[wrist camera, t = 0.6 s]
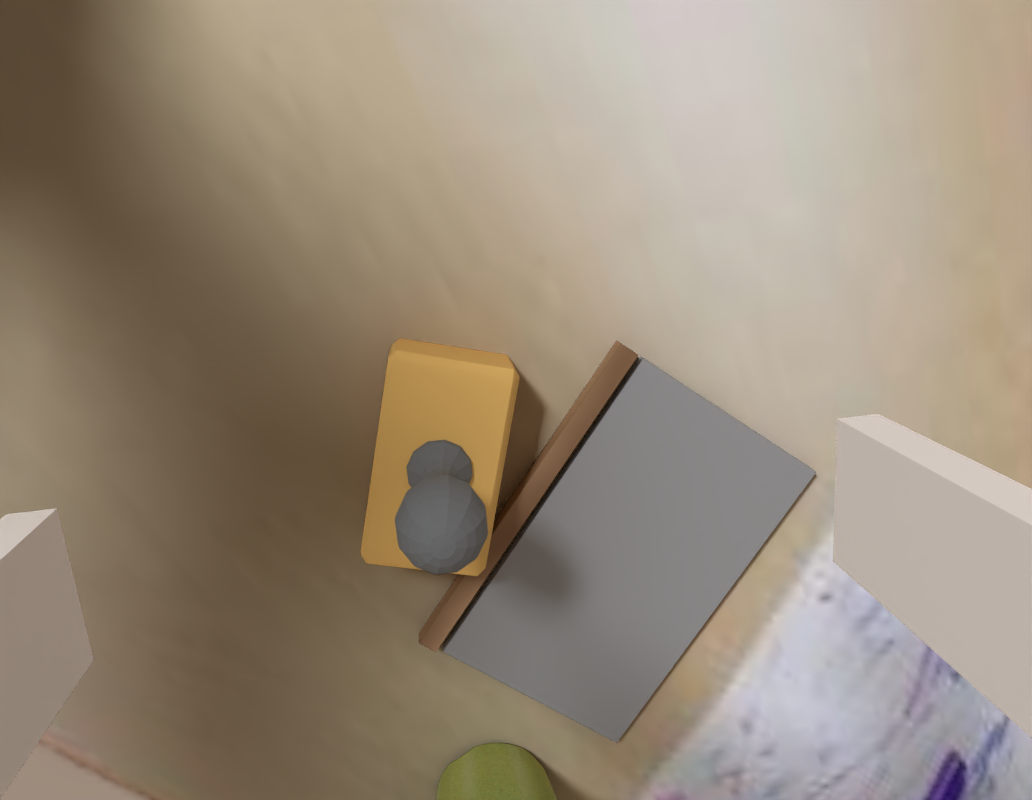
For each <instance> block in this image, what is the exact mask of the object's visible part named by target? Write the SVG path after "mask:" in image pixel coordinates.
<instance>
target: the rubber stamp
mask: <svg viewBox="0 0 1032 800" xmlns="http://www.w3.org/2000/svg"><path fill="white" fill-rule="evenodd" d="M519 379H520V376H519V374H518V372H517V370H516V369H515V367H514V365H513V363H512V362H511V360H510V359H509V357H508V356H507V355H505V354H498V353H492V352H485V351H479V350H472V349H466V348H459V347H453V346H447V345H440V344H434V343H427V342H421V341H414V340H408V339H401V338H400V339H398V340H397V341H396V342H395V343H393V344H392V345H391V349H390V353H389V357H388V363H387V370H386V377H385V384H384V391H383V398H382V405H381V412H380V419H379V426H378V433H377V440H376V447H375V454H374V461H373V468H372V475H371V482H370V489H369V496H368V503H367V510H366V517H365V524H364V531H363V538H362V545H361V552H360V554H361V556H362V557H363V559H364V561H365V562H366V563H367V564H376V565H384V566H393V567H402V568H410V569H419V570H424V571H427V572H430V573H432V574H435V575H439V574H447V573H453V574H462V575H471V576H478V575H479V574H480V573H481V572H482V571H483V570H484V569H485V568H486V563H487V557H488V552H489V546H490V541H491V535H492V530H493V524H494V519H495V513H496V507H497V502H498V496H499V491H500V485H501V480H502V474H503V469H504V463H505V457H506V452H507V446H508V441H509V435H510V430H511V424H512V419H513V413H514V407H515V402H516V396H517V391H518V385H519Z"/></svg>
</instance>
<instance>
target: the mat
mask: <svg viewBox="0 0 1032 800" xmlns="http://www.w3.org/2000/svg"><path fill="white" fill-rule="evenodd" d="M815 473H816V471H814V470H813V469H811V468H810V467H808V466H807V465H805V464H804V463H802V462H801V461H799V460H798V459H796V458H795V457H793V456H791V455H790V454H788V453H787V452H785V451H784V450H782V449H781V448H779V447H778V446H776V445H775V444H773V443H772V442H770V441H769V440H767V439H766V438H764V437H763V436H761V435H760V434H758V433H756V432H755V431H753V430H752V429H750V428H749V427H747V426H746V425H744V424H743V423H741V422H740V421H738V420H737V419H735V418H734V417H732V416H731V415H729V414H728V413H726V412H724V411H723V410H721V409H720V408H718V407H717V406H715V405H714V404H712V403H711V402H709V401H708V400H706V399H705V398H703V397H702V396H700V395H699V394H697V393H696V392H694V391H693V390H691V389H689V388H688V387H686V386H685V385H683V384H682V383H680V382H679V381H677V380H676V379H674V378H673V377H671V376H670V375H668V374H667V373H665V372H664V371H662V370H661V369H659V368H658V367H656V366H654V365H653V364H651V363H650V362H648V361H647V360H645V359H644V358H642V357H640V358H639V359H638V361H637V362H636V364H635V365H634V367H633V368H632V370H631V371H630V373H629V374H628V376H627V377H626V379H625V380H624V381H623V383H622V384H621V386H620V387H619V389H618V390H617V392H616V393H615V395H614V396H613V398H612V399H611V401H610V402H609V403H608V405H607V406H606V408H605V409H604V411H603V412H602V414H601V415H600V417H599V418H598V420H597V421H596V423H595V424H594V425H593V427H592V428H591V430H590V431H589V433H588V434H587V436H586V437H585V439H584V440H583V442H582V443H581V445H580V446H579V447H578V449H577V450H576V452H575V453H574V455H573V456H572V458H571V459H570V461H569V462H568V464H567V465H566V467H565V468H564V469H563V471H562V472H561V474H560V475H559V477H558V478H557V480H556V481H555V483H554V484H553V486H552V487H551V488H550V490H549V491H548V493H547V494H546V496H545V497H544V499H543V500H542V502H541V503H540V505H539V506H538V508H537V509H536V510H535V512H534V513H533V515H532V516H531V518H530V519H529V521H528V522H527V524H526V525H525V527H524V528H523V530H522V531H521V532H520V534H519V535H518V537H517V538H516V540H515V541H514V543H513V544H512V546H511V547H510V549H509V550H508V552H507V553H506V554H505V556H504V557H503V559H502V560H501V562H500V563H499V565H498V566H497V568H496V569H495V571H494V572H493V574H492V575H491V576H490V578H489V579H488V581H487V582H486V584H485V585H484V587H483V588H482V590H481V591H480V593H479V594H478V596H477V597H476V598H475V600H474V601H473V603H472V604H471V606H470V607H469V609H468V610H467V612H466V613H465V615H464V616H463V617H462V619H461V620H460V622H459V623H458V625H457V626H456V628H455V629H454V631H453V632H452V634H451V635H450V637H449V638H448V639H447V641H446V642H445V644H444V645H443V652H445V653H446V654H448V655H450V656H452V657H454V658H456V659H458V660H460V661H462V662H464V663H465V664H467V665H469V666H471V667H473V668H475V669H477V670H479V671H481V672H483V673H485V674H486V675H488V676H490V677H492V678H494V679H496V680H498V681H500V682H502V683H504V684H505V685H507V686H509V687H511V688H513V689H515V690H517V691H519V692H521V693H523V694H525V695H526V696H528V697H530V698H532V699H534V700H536V701H538V702H540V703H542V704H544V705H545V706H547V707H549V708H551V709H553V710H555V711H557V712H559V713H561V714H563V715H565V716H566V717H568V718H570V719H572V720H574V721H576V722H578V723H580V724H582V725H584V726H585V727H587V728H589V729H591V730H593V731H595V732H597V733H599V734H601V735H603V736H605V737H606V738H608V739H610V740H612V741H614V742H616V743H617V742H618V740H619V739H620V738H621V736H622V735H623V734H624V732H625V731H626V729H627V728H628V727H629V725H630V724H631V723H632V721H633V720H634V719H635V717H636V716H637V715H638V713H639V712H640V710H641V709H642V708H643V706H644V705H645V704H646V702H647V701H648V700H649V698H650V697H651V696H652V694H653V693H654V692H655V690H656V689H657V687H658V686H659V685H660V683H661V682H662V681H663V679H664V678H665V677H666V675H667V674H668V673H669V671H670V670H671V668H672V667H673V666H674V664H675V663H676V662H677V660H678V659H679V658H680V656H681V655H682V654H683V652H684V651H685V649H686V648H687V647H688V645H689V644H690V643H691V641H692V640H693V639H694V637H695V636H696V635H697V633H698V632H699V630H700V629H701V628H702V626H703V625H704V624H705V622H706V621H707V620H708V618H709V617H710V616H711V614H712V613H713V611H714V610H715V609H716V607H717V606H718V605H719V603H720V602H721V601H722V599H723V598H724V597H725V595H726V594H727V593H728V591H729V590H730V588H731V587H732V586H733V584H734V583H735V582H736V580H737V579H738V578H739V576H740V575H741V574H742V572H743V571H744V569H745V568H746V567H747V565H748V564H749V563H750V561H751V560H752V559H753V557H754V556H755V555H756V553H757V552H758V550H759V549H760V548H761V546H762V545H763V544H764V542H765V541H766V540H767V538H768V537H769V536H770V534H771V533H772V531H773V530H774V529H775V527H776V526H777V525H778V523H779V522H780V521H781V519H782V518H783V517H784V515H785V514H786V513H787V511H788V510H789V508H790V507H791V506H792V504H793V503H794V502H795V500H796V499H797V498H798V496H799V495H800V494H801V492H802V491H803V489H804V488H805V487H806V485H807V484H808V483H809V481H810V480H811V479H812V477H813V476H814V475H815Z"/></svg>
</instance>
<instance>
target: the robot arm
mask: <svg viewBox="0 0 1032 800" xmlns="http://www.w3.org/2000/svg"><path fill="white" fill-rule="evenodd" d="M833 562H834V563H836V564H837V565H838V566H839V567H840V568H841V569H842V570H843V571H845V572H846V573H847V574H848V575H849V576H850V577H851V578H852V579H854V580H855V581H856V582H857V583H858V584H859V585H860V586H861V587H863V588H864V589H865V590H866V591H867V592H868V593H869V594H870V595H871V596H873V597H874V598H875V599H876V600H877V601H878V602H879V603H880V604H882V605H883V606H884V607H885V608H886V609H887V610H888V611H889V612H891V613H892V614H893V615H894V616H895V617H896V618H897V619H898V620H900V621H901V622H902V623H903V624H904V625H905V626H906V627H907V628H909V629H910V630H911V631H912V632H913V633H914V634H915V635H916V636H918V637H919V638H920V639H921V640H922V641H923V642H924V643H925V644H927V645H928V646H929V647H930V648H931V649H932V650H933V651H934V652H936V653H937V654H938V655H939V656H940V657H941V658H942V659H943V660H944V661H946V662H947V663H948V664H949V665H950V666H951V667H952V668H953V669H955V670H956V671H957V672H958V673H959V674H960V675H961V676H962V677H964V678H965V679H966V680H967V681H968V682H969V683H970V684H971V685H973V686H974V687H975V688H976V689H977V690H978V691H979V692H980V693H982V694H983V695H984V696H985V697H986V698H987V699H988V700H989V701H991V702H992V703H993V704H994V705H995V706H996V707H997V708H998V709H1000V710H1001V711H1002V712H1003V713H1004V714H1005V715H1006V716H1007V717H1009V718H1010V719H1011V720H1012V721H1013V722H1014V723H1015V724H1016V725H1017V726H1019V727H1020V728H1021V729H1022V730H1023V731H1024V732H1025V733H1026V734H1028V735H1029V736H1030V737H1031V738H1032V489H1031V488H1028V487H1026V486H1024V485H1022V484H1020V483H1018V482H1016V481H1014V480H1012V479H1010V478H1008V477H1006V476H1004V475H1002V474H1000V473H998V472H996V471H994V470H992V469H990V468H988V467H986V466H983V465H981V464H979V463H977V462H975V461H973V460H971V459H969V458H967V457H965V456H963V455H961V454H959V453H957V452H955V451H953V450H951V449H949V448H947V447H945V446H943V445H941V444H939V443H936V442H934V441H932V440H930V439H928V438H926V437H924V436H922V435H920V434H918V433H916V432H914V431H912V430H910V429H908V428H906V427H904V426H902V425H900V424H898V423H896V422H894V421H891V420H889V419H887V418H885V417H883V416H881V415H879V414H873V415H865V416H856V417H847V418H839V419H837V435H836V471H835V508H834V544H833ZM93 660H94V659H93V654H92V650H91V646H90V642H89V638H88V634H87V630H86V626H85V622H84V618H83V613H82V609H81V605H80V601H79V597H78V593H77V589H76V585H75V581H74V577H73V572H72V568H71V564H70V560H69V556H68V552H67V548H66V544H65V540H64V536H63V532H62V527H61V523H60V519H59V515H58V511H57V508H56V509H47V510H39V511H30V512H21V513H12V514H6V515H5V516H4V517H2V518H1V519H0V799H1V798H2V796H3V795H4V793H5V792H6V790H7V789H8V787H9V786H10V784H11V783H12V781H13V779H14V778H15V777H16V775H17V774H18V772H19V771H20V769H21V768H22V766H23V765H24V763H25V762H26V760H27V759H28V757H29V756H30V754H31V753H32V751H33V750H34V748H35V747H36V745H37V744H38V742H39V741H40V739H41V738H42V736H43V735H44V733H45V732H46V730H47V729H48V727H49V726H50V724H51V723H52V721H53V720H54V718H55V717H56V715H57V714H58V712H59V711H60V710H61V708H62V707H63V705H64V704H65V702H66V701H67V699H68V698H69V696H70V695H71V693H72V692H73V690H74V689H75V687H76V686H77V684H78V683H79V681H80V680H81V678H82V677H83V675H84V674H85V672H86V671H87V669H88V668H89V666H90V665H91V663H92V662H93Z"/></svg>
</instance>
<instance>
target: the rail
mask: <svg viewBox="0 0 1032 800" xmlns="http://www.w3.org/2000/svg"><path fill="white" fill-rule="evenodd" d="M637 357H638V355H637V354H636V353H635V352H633V351H632V350H630V349H629V348H627V347H626V346H624V345H622V344H621V343H619V342H618V341H616V342H615V344H614V345H613V347H612V348H611V350H610V351H609V353H608V354H607V356H606V357H605V359H604V360H603V362H602V363H601V365H600V366H599V368H598V369H597V370H596V372H595V373H594V375H593V376H592V378H591V379H590V381H589V382H588V384H587V385H586V387H585V388H584V390H583V391H582V393H581V394H580V396H579V397H578V399H577V400H576V402H575V403H574V405H573V406H572V408H571V409H570V410H569V412H568V413H567V415H566V416H565V418H564V419H563V421H562V422H561V424H560V425H559V427H558V428H557V430H556V431H555V433H554V434H553V436H552V437H551V439H550V440H549V442H548V443H547V445H546V446H545V448H544V449H543V450H542V452H541V453H540V455H539V456H538V458H537V459H536V461H535V462H534V464H533V465H532V467H531V468H530V470H529V471H528V473H527V474H526V476H525V477H524V479H523V480H522V482H521V483H520V485H519V486H518V488H517V489H516V490H515V492H514V493H513V495H512V496H511V498H510V499H509V501H508V502H507V504H506V505H505V507H504V508H503V510H502V511H501V513H500V514H499V516H498V517H497V519H496V520H495V522H494V524H493V530H492V535H491V541H490V546H489V552H488V557H487V563H486V568H485V569H484V570H483V571H482V572H481V573H480V574H479V575H478V576H471V575H462V574H459V575H458V576H457V578H456V579H455V581H454V582H453V584H452V585H451V587H450V588H449V590H448V591H447V593H446V594H445V596H444V597H443V599H442V600H441V602H440V603H439V605H438V606H437V608H436V609H435V611H434V612H433V613H432V615H431V616H430V618H429V619H428V621H427V622H426V624H425V625H424V627H423V628H422V630H421V631H420V633H419V644H421V645H423V646H425V647H427V648H429V649H431V650H433V651H435V652H436V651H437V650H438V649H439V647H440V646H441V644H442V643H443V641H444V640H445V638H446V637H447V635H448V634H449V632H450V631H451V629H452V628H453V627H454V625H455V624H456V622H457V621H458V619H459V618H460V616H461V615H462V613H463V612H464V610H465V609H466V607H467V606H468V605H469V603H470V602H471V600H472V599H473V597H474V596H475V594H476V593H477V591H478V590H479V588H480V587H481V585H482V584H483V583H484V581H485V580H486V578H487V577H488V575H489V574H490V572H491V571H492V569H493V568H494V566H495V565H496V563H497V562H498V560H499V559H500V558H501V556H502V555H503V553H504V552H505V550H506V549H507V547H508V546H509V544H510V543H511V541H512V540H513V538H514V537H515V536H516V534H517V533H518V531H519V530H520V528H521V527H522V525H523V524H524V522H525V521H526V519H527V518H528V516H529V515H530V514H531V512H532V511H533V509H534V508H535V506H536V505H537V503H538V502H539V500H540V499H541V497H542V496H543V494H544V493H545V492H546V490H547V489H548V487H549V486H550V484H551V483H552V481H553V480H554V478H555V477H556V475H557V474H558V472H559V471H560V470H561V468H562V467H563V465H564V464H565V462H566V461H567V459H568V458H569V456H570V455H571V453H572V452H573V450H574V449H575V448H576V446H577V445H578V443H579V442H580V440H581V439H582V437H583V436H584V434H585V433H586V431H587V430H588V428H589V427H590V426H591V424H592V423H593V421H594V420H595V418H596V417H597V415H598V414H599V412H600V411H601V409H602V408H603V406H604V405H605V403H606V402H607V401H608V399H609V398H610V396H611V395H612V393H613V392H614V390H615V389H616V387H617V386H618V384H619V383H620V381H621V380H622V379H623V377H624V376H625V374H626V373H627V371H628V370H629V368H630V367H631V365H632V364H633V362H634V361H635V359H636V358H637Z"/></svg>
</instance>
